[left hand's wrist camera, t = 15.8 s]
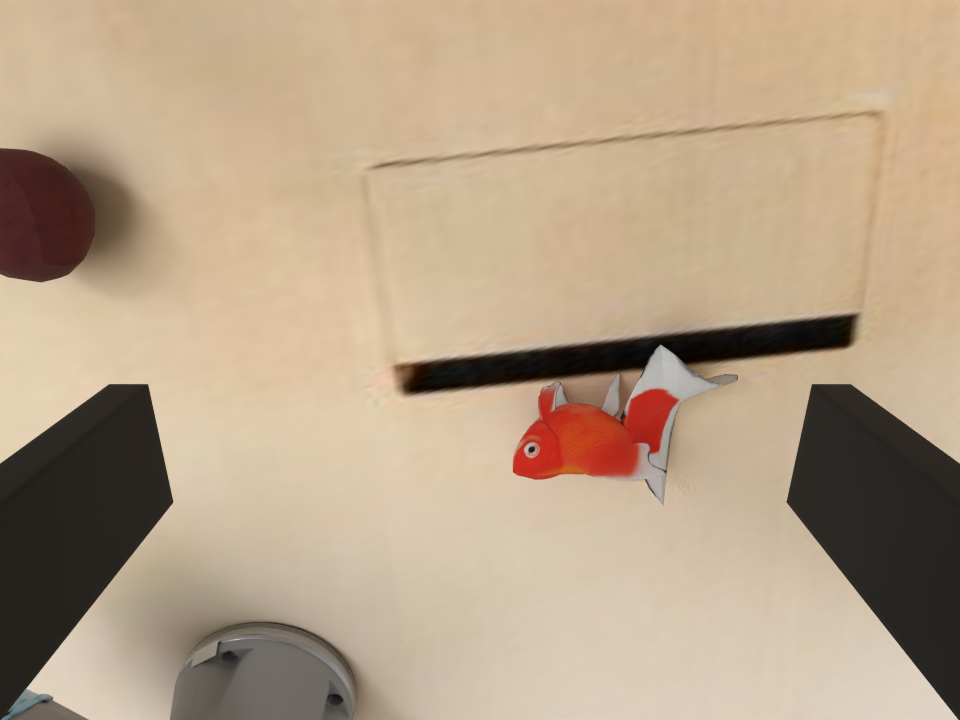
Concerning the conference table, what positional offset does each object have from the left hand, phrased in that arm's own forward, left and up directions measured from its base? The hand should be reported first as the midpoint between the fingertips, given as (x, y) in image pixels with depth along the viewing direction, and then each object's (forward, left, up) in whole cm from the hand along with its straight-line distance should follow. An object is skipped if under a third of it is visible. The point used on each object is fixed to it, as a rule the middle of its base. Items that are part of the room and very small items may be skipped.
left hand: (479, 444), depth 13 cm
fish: (-6, -14, -30) cm, 33 cm away
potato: (-13, +24, -30) cm, 40 cm away
